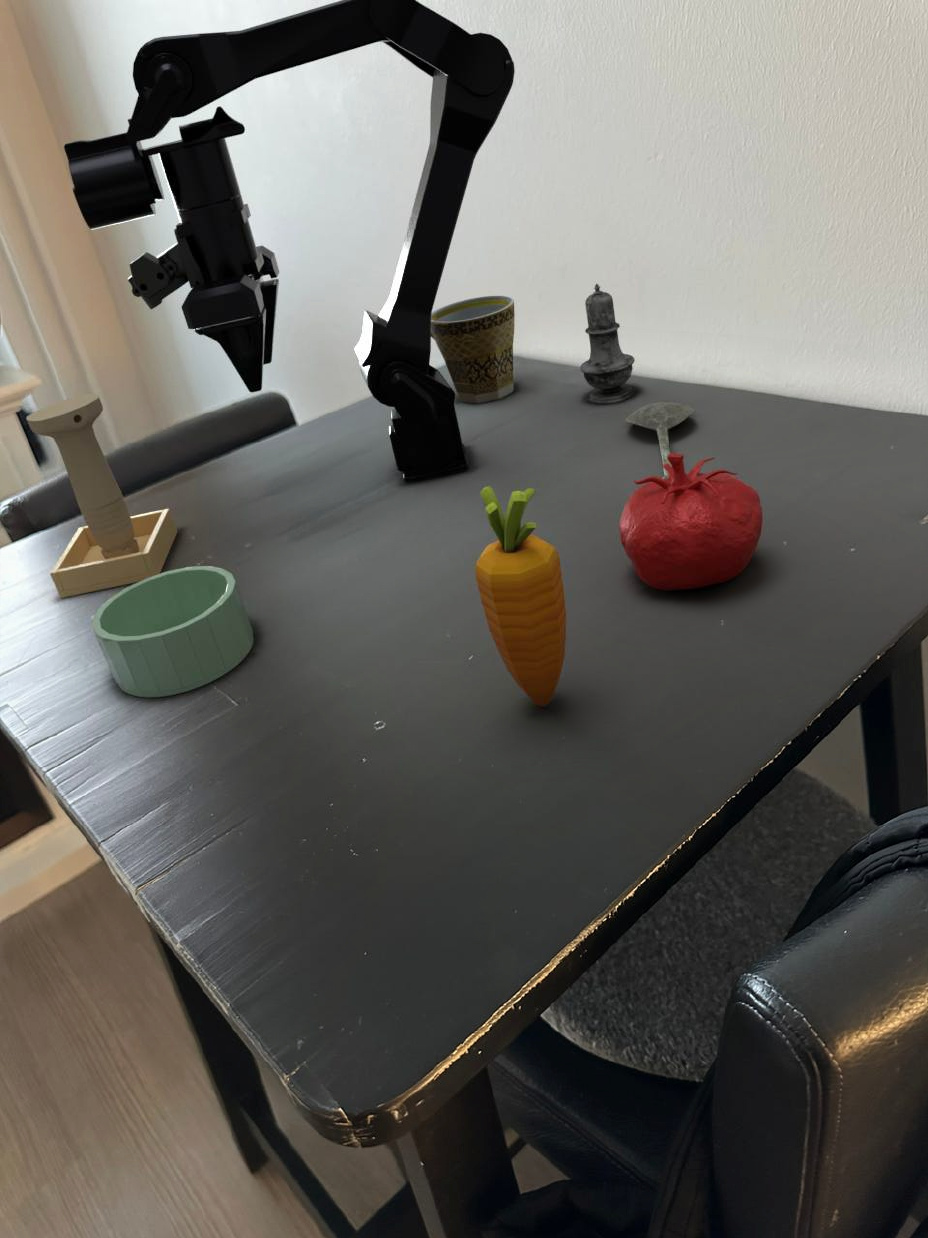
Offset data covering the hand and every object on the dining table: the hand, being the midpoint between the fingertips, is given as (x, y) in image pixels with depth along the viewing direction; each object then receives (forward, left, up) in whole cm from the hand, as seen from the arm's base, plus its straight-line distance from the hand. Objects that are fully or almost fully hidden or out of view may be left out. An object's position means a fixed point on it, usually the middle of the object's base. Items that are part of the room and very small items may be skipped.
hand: (261, 376), depth 96 cm
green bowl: (+7, +27, -13) cm, 31 cm away
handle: (+17, +6, -13) cm, 22 cm away
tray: (+17, +6, -13) cm, 22 cm away
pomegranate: (-32, +30, -13) cm, 46 cm away
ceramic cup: (-20, -23, -13) cm, 33 cm away
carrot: (-19, +43, -13) cm, 49 cm away
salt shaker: (-34, -12, -13) cm, 38 cm away
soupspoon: (-35, +8, -13) cm, 38 cm away
